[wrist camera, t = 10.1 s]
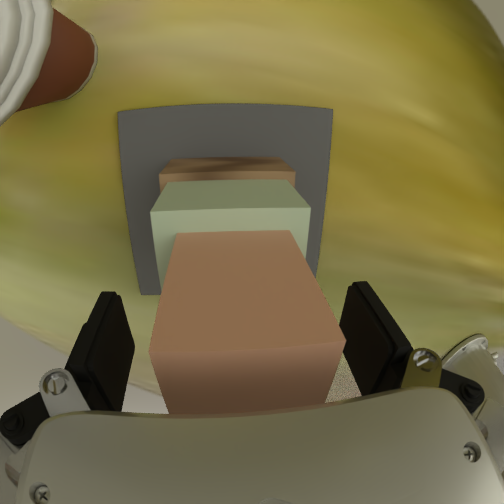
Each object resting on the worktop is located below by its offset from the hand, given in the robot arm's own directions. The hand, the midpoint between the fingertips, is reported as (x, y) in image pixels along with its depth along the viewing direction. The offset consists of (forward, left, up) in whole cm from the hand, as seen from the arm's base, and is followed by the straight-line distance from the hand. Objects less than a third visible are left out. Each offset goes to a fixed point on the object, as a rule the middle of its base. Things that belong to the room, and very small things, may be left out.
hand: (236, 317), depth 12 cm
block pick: (0, 0, -3) cm, 3 cm away
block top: (0, 0, -8) cm, 8 cm away
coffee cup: (+13, -13, -14) cm, 23 cm away
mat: (0, 0, -13) cm, 13 cm away
